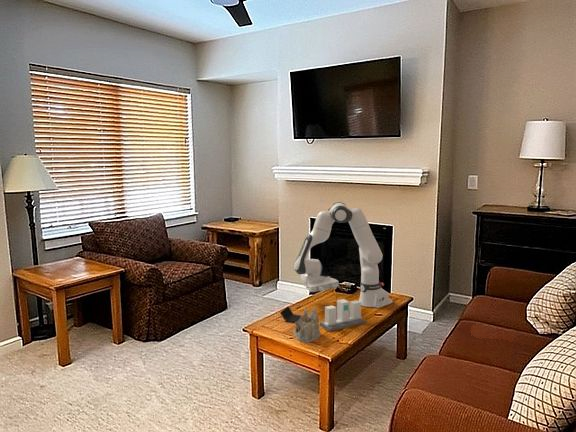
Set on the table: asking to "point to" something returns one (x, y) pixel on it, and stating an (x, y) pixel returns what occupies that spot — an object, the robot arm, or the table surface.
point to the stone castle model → (307, 327)
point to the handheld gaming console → (289, 315)
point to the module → (343, 310)
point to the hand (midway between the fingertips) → (330, 288)
